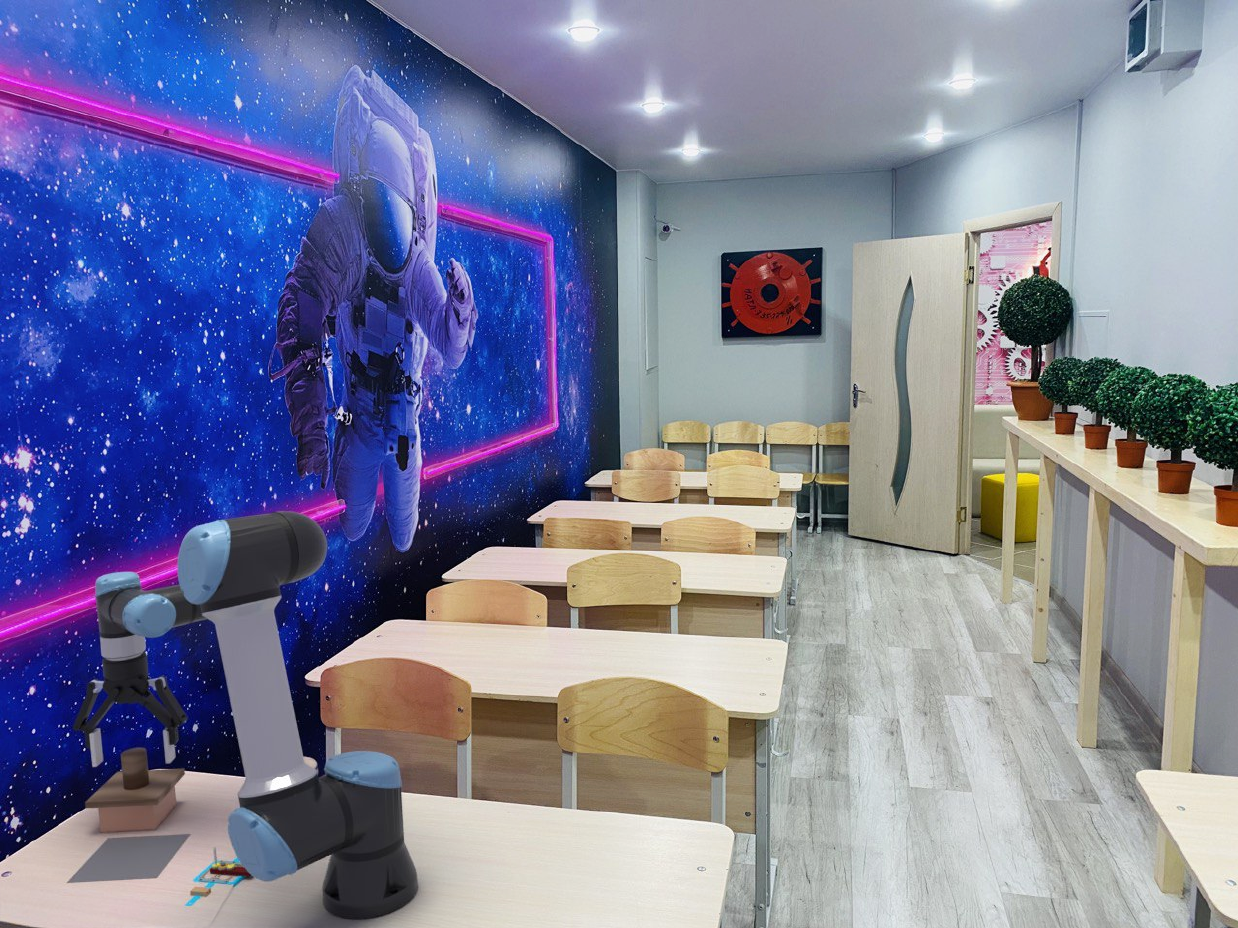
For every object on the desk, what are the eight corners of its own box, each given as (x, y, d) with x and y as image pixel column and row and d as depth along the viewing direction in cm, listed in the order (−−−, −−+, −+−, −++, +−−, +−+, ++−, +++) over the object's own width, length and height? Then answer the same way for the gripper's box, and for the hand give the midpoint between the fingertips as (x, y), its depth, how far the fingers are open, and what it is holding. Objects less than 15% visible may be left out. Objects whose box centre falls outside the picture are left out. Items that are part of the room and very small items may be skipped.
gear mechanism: (283, 850, 175) (236, 846, 177) (281, 821, 174) (234, 818, 176) (218, 914, 156) (166, 909, 157) (215, 882, 155) (163, 878, 157)
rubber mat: (157, 880, 165) (156, 877, 165) (66, 885, 164) (66, 882, 164) (191, 836, 180) (190, 833, 180) (108, 840, 179) (108, 837, 179)
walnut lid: (157, 804, 180) (153, 765, 179) (85, 808, 179) (81, 768, 178) (184, 774, 193) (181, 736, 192) (117, 777, 192) (114, 740, 191)
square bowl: (155, 831, 182) (152, 801, 181) (100, 834, 182) (97, 804, 181) (176, 806, 192) (174, 777, 191) (124, 809, 192) (122, 780, 191)
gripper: (199, 645, 187) (208, 750, 190) (66, 651, 186) (77, 756, 188) (184, 657, 180) (193, 767, 182) (45, 663, 178) (57, 773, 181)
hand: (134, 762), depth 185 cm, fingers open, 13 cm apart
